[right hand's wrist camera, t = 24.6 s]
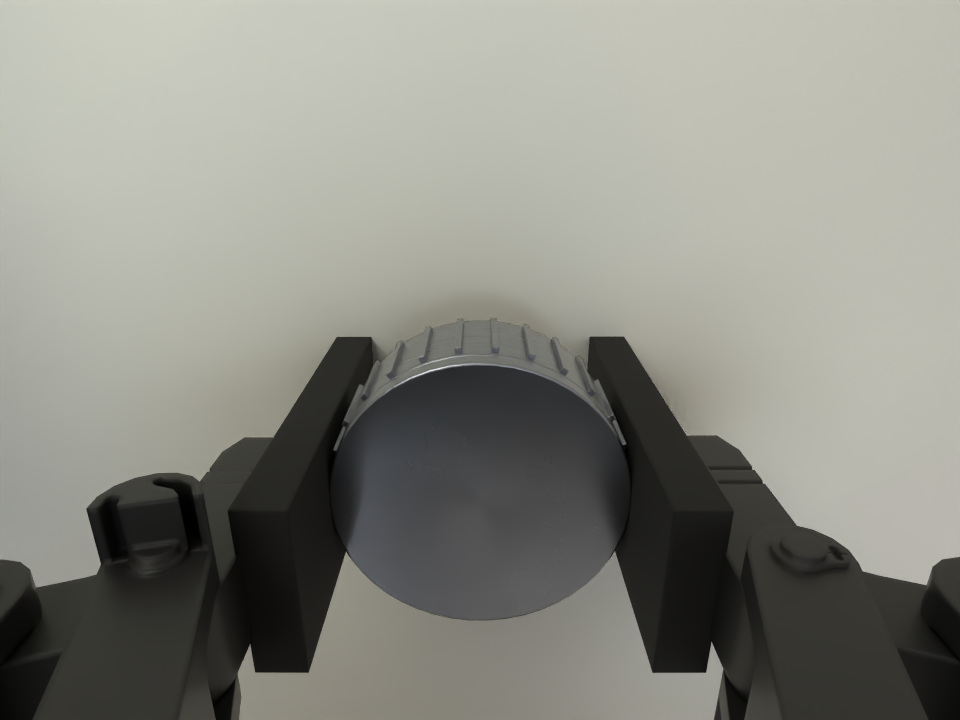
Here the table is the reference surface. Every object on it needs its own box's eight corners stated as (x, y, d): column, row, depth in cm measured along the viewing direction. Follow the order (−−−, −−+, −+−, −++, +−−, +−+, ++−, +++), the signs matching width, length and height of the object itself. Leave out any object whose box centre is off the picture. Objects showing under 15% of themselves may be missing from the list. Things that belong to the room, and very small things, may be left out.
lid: (294, 450, 12) (260, 513, 10) (469, 256, 11) (467, 288, 9) (488, 590, 13) (489, 669, 12) (667, 432, 12) (702, 493, 10)
